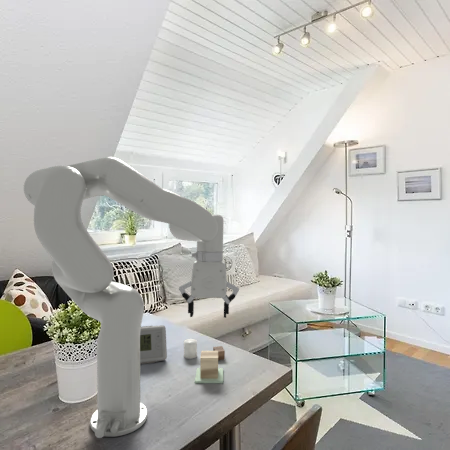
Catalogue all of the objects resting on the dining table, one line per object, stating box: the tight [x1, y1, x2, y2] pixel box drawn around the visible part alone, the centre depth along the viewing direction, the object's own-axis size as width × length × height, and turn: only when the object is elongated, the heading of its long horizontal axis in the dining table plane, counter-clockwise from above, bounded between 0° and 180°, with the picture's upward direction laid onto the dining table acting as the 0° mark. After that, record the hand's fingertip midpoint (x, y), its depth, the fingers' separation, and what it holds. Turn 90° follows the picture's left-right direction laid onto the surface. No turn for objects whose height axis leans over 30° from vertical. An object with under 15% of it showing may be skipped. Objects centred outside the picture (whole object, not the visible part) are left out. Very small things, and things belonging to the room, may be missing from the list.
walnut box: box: [212, 345, 226, 361], centre depth 114 cm, size 4×3×3 cm
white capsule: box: [183, 338, 198, 360], centre depth 115 cm, size 4×4×5 cm
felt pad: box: [194, 367, 224, 384], centre depth 101 cm, size 8×8×1 cm
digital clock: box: [140, 325, 168, 365], centre depth 111 cm, size 16×9×11 cm, turn 95°
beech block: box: [199, 350, 219, 379], centre depth 101 cm, size 5×5×6 cm
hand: (208, 316), depth 100 cm, fingers open, 9 cm apart
